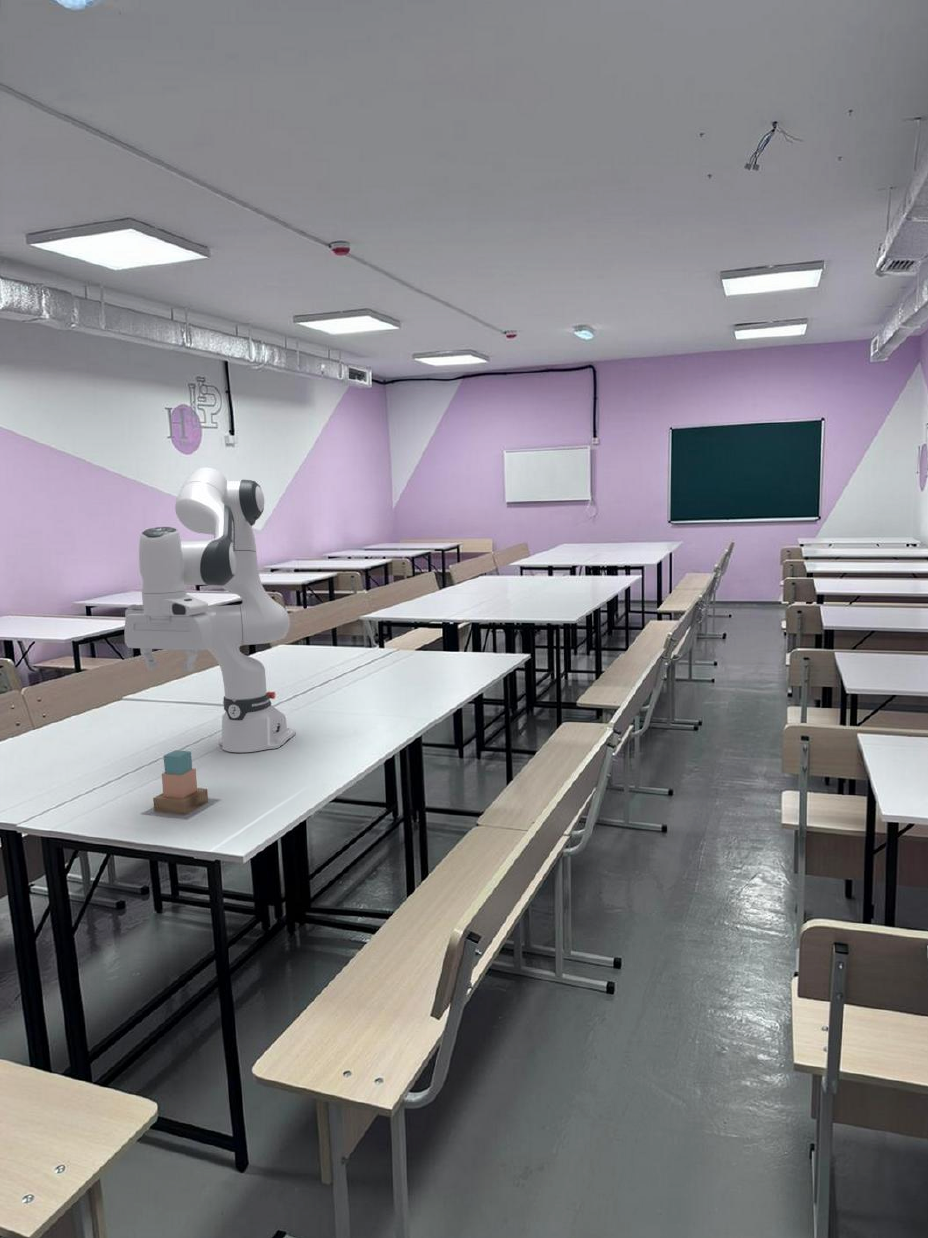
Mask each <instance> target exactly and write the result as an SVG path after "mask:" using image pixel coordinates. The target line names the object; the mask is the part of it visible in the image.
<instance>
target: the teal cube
mask: <svg viewBox="0 0 928 1238" xmlns="http://www.w3.org/2000/svg"><path fill="white" fill-rule="evenodd" d="M163 765H164V773H165V774H175V775H182V774H184V773H186V772H188V771H190V770H192V768H193V761H192V751H190V750H177V749H176V750H173V751H170V752H168V753H167V754H164V755H163Z"/></svg>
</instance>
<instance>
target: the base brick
mask: <svg viewBox="0 0 928 1238" xmlns="http://www.w3.org/2000/svg"><path fill="white" fill-rule="evenodd" d="M208 792H209V791H208V788H203V787H197V791H195V792H193V793H192V794H190V795H188V796H186V797H184V798H176V797H166V796H163V792H162V793H161V794H158V795H156V796H154V797H152V801H153V807H154V812H163V813H172V814H181V815H186V814H188V813H190V812H191V811H193V810H195V809H197V808H198V807H200V806H202V805H204V804H205V803H207V802H208V798H209V794H208Z"/></svg>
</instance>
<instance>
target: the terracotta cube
mask: <svg viewBox="0 0 928 1238" xmlns="http://www.w3.org/2000/svg"><path fill="white" fill-rule="evenodd" d="M196 770H197V768H194V767H192V770H190V771H188V772H186V773H184V774H182V775H175V774H165V772H163V773H161V782H162V793H163V796H166V797H176V798H184V797H186V796H188V795H190V794H192V793H193V792H195V791H197V788H198V783H197V771H196Z"/></svg>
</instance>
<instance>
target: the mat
mask: <svg viewBox="0 0 928 1238" xmlns="http://www.w3.org/2000/svg"><path fill="white" fill-rule="evenodd" d="M220 801H222V799H220V798H210V797H208V802H207V803H205V804H204V805H202V806H200V807H198V808H197V809H195V810H193V811H191V812H190V813H188V814H186V815H181V814H172V813H163V812H154V806H152V807H151V808H149V809H147V810H144V811H143V812H141V813H140V815H143V816H153V817H161V818H162V817H163V818H169V819H180V820H189V819H190V818H193V817H195V816H196V815H198V814H200V813H201V812H203V811H205V810H206V809H208V808H209V807H211V806H213V805H215V804H216V803H217V804H218V803H219V802H220Z"/></svg>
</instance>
